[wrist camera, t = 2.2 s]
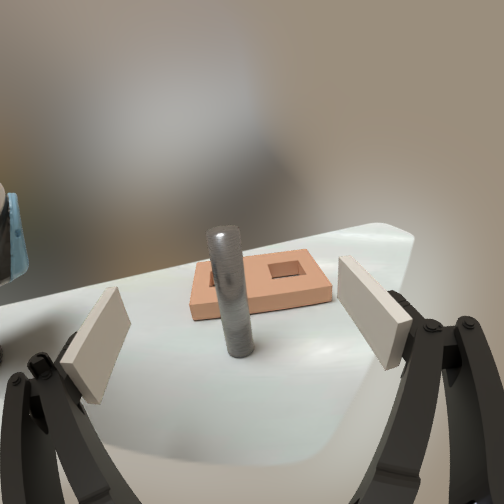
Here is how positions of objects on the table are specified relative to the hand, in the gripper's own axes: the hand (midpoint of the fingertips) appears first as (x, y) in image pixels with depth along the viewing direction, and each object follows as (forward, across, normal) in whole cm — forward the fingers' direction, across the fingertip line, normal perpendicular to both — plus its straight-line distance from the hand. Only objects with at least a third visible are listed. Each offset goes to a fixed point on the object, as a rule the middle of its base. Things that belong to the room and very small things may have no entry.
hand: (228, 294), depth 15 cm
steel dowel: (+10, 0, -13) cm, 17 cm away
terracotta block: (+23, +3, -13) cm, 27 cm away
